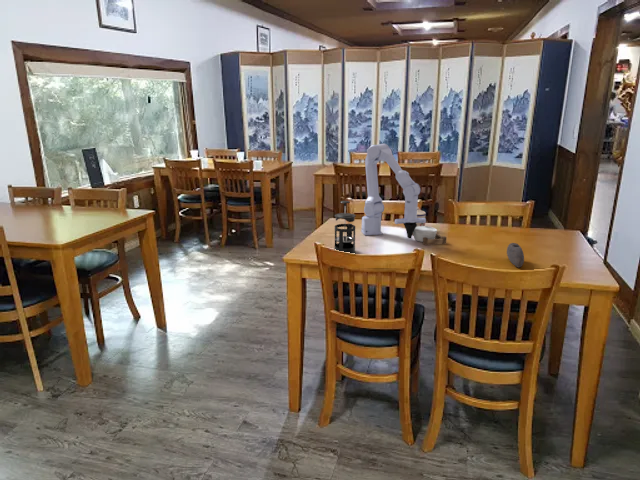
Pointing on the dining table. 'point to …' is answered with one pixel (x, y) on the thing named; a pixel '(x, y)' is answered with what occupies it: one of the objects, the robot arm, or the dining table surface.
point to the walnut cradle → (434, 240)
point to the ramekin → (424, 233)
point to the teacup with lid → (420, 216)
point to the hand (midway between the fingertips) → (409, 237)
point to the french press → (345, 241)
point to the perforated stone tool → (515, 254)
